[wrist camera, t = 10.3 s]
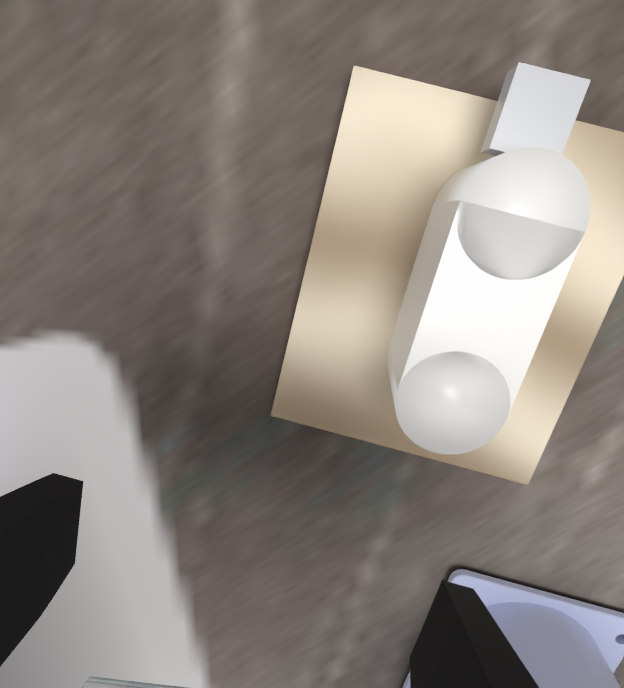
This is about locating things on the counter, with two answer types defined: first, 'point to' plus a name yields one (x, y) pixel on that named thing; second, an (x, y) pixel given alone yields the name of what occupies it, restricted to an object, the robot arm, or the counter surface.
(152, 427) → the counter surface
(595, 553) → the counter surface
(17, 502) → the robot arm
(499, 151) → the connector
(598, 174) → the birch board
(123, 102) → the counter surface
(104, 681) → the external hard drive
